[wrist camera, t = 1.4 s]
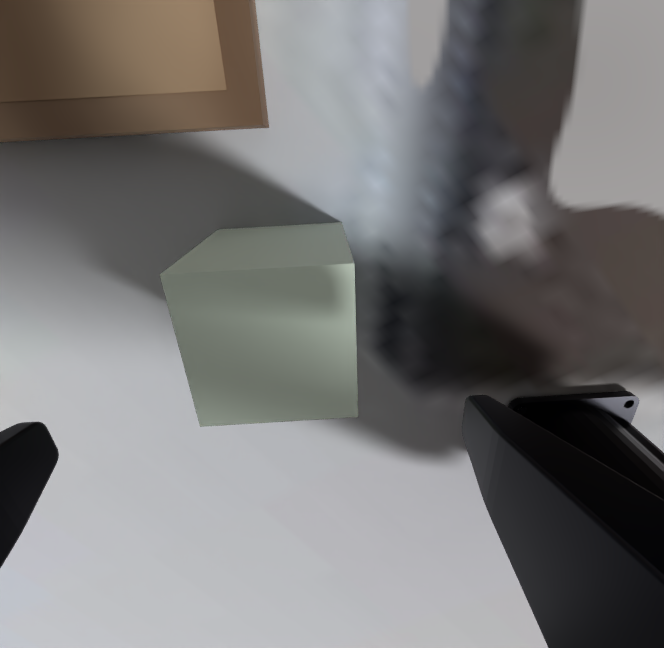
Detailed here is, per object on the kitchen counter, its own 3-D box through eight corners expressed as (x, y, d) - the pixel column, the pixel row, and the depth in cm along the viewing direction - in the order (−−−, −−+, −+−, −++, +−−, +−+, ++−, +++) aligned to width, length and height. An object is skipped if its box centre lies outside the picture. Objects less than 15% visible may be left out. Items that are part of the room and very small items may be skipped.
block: (341, 222, 15) (354, 263, 9) (345, 331, 17) (358, 416, 11) (218, 229, 15) (159, 274, 9) (238, 337, 17) (200, 426, 11)
